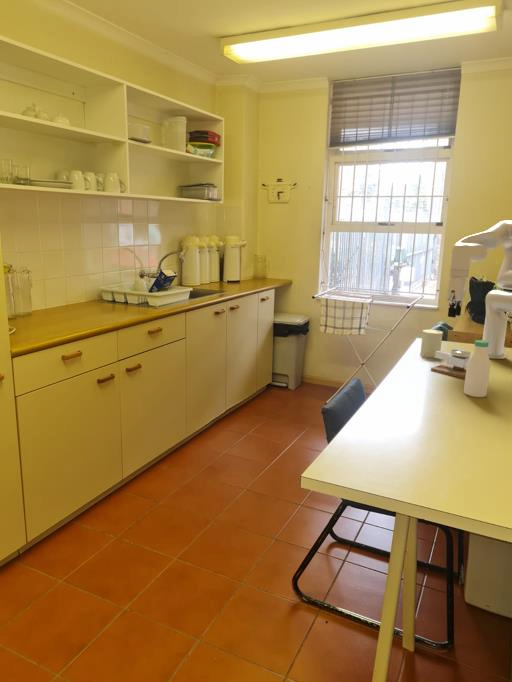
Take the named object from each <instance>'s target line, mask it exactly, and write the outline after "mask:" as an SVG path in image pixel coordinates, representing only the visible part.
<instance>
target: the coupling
mask: <svg viewBox="0 0 512 682" xmlns="http://www.w3.org/2000/svg"><path fill="white" fill-rule="evenodd" d="M450 352H451V353H450ZM450 352H446V351H442V350H441V351H435V358H434V359H438V360H442V361H446V363H447V364H449V365H453V366H457V367H461V368H464V367H467V363H468V360H469V358H470V356H471V352H470V351H468V350H464V349H455V348H453V349H452V350H451V351H450ZM454 356H455V357H454ZM458 357H461V358H458Z"/></svg>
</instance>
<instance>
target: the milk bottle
mask: <svg viewBox="0 0 512 682" xmlns="http://www.w3.org/2000/svg"><path fill="white" fill-rule="evenodd" d="M488 345H489V342H487V341H483V339H476V340H474V345H473V346H474V347H473V348H474V349H473V351H472V353H471V354H470V358H469V360H468V363H467V369H466V377H465V379H464V385H463V386H464V387H463V393H464V395H467V396H468V397H472V398H473V397H474V398H484V397H486V396H487V393H488V387H489V380H490V379H489V378H490V371H491V362H490V360H491V359H490V358H489V357H488V353H487V348H488Z"/></svg>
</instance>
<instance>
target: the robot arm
mask: <svg viewBox="0 0 512 682" xmlns="http://www.w3.org/2000/svg"><path fill="white" fill-rule="evenodd" d="M500 245H501V246H502V249H503V257H504V258H503V260H502V261H503V262H502V263H501V267H500V269H499V271H498V275H497V277H496V283H495V284H496V286H497V287H498V288H501V289H502V290H501V289H492V290H490V291H488V293H487V294H486V295H485V299H484V302H485V319H484V326H483V334H482V340H483V341H487V342H489V345H488V348H487V353H488V357H489V359H492V360H493V359H494V360H501V359H502V360H504V359H506V358H507V354H505V353H504V350H506V346H505V339H506V333H507V328H508V327H507V326H508V317H507V315H506V313H511V314H512V291H510V290H512V220H509V219H506V220H501V221H499V222H498V223H496V224H495V225H493V226H492V227H490V228H489V229H487V230H485V231H482V232H479V233H475V234H472V235H469V236H465V237H464V238H462V239H460V240H459V241H457V242H456V243H455V244H453V246H452V249H451V258H450V259H451V260H450V266H449V267H450V268H449V275H448V276H449V280H448V286H447V290H446V297H445V298H446V300H447V301H448V311H447V317H449V318H457V316H458V317H460V316H461V315H462V314H461V313H462V305H463V300H464V299H465V295H466V289H467V288H466V286H467V279H469V274H470V267H471V262H472V263H473V262H475V263H479V262H483V261H484V260H485V259H486V258H487V255H488V250H494V249H496V248H498V247H499V246H500ZM505 312H506V313H505Z"/></svg>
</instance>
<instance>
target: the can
mask: <svg viewBox="0 0 512 682" xmlns="http://www.w3.org/2000/svg"><path fill="white" fill-rule="evenodd" d="M443 334H444V331H442V330H438V329H437V330H436V329H423V330H422V336H421V345H420V353H419V354H420V356H422V357H425V358H426V357H427V358H434V359H436V358H435V351H442V349H441V348H442V342H443V341H442V340H443Z"/></svg>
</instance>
